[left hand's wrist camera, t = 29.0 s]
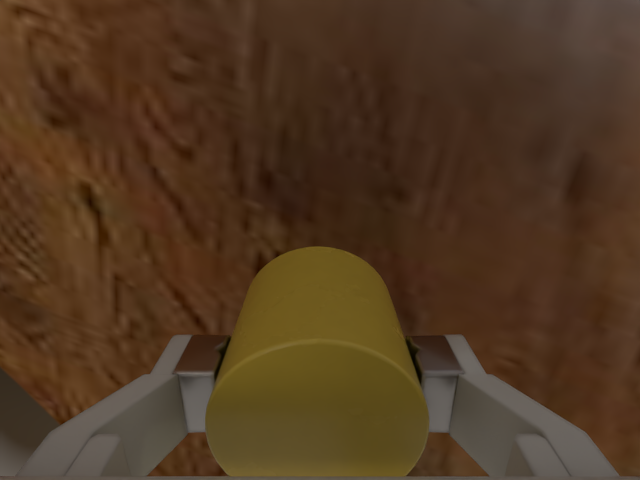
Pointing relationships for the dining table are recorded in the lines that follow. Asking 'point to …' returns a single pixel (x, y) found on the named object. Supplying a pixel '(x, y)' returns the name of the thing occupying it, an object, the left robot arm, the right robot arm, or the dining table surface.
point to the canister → (317, 376)
